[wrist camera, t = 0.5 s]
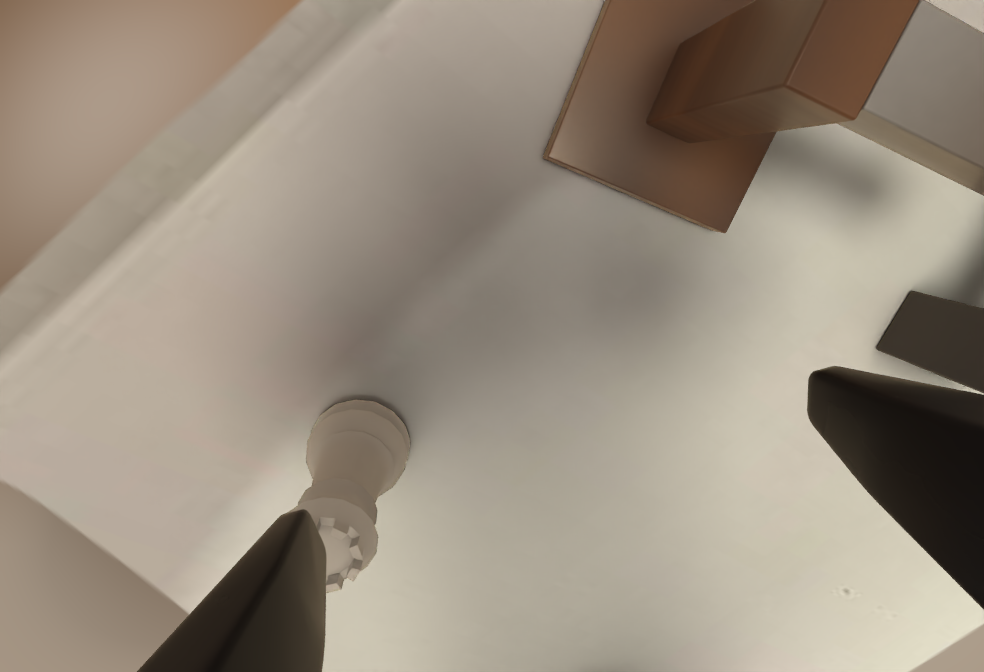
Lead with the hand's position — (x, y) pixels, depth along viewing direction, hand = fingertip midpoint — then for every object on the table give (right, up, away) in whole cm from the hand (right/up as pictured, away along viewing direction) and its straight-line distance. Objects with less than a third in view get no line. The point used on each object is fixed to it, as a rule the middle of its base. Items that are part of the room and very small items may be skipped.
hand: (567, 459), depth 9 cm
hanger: (+9, +10, +13) cm, 19 cm away
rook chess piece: (-7, -3, +15) cm, 17 cm away
